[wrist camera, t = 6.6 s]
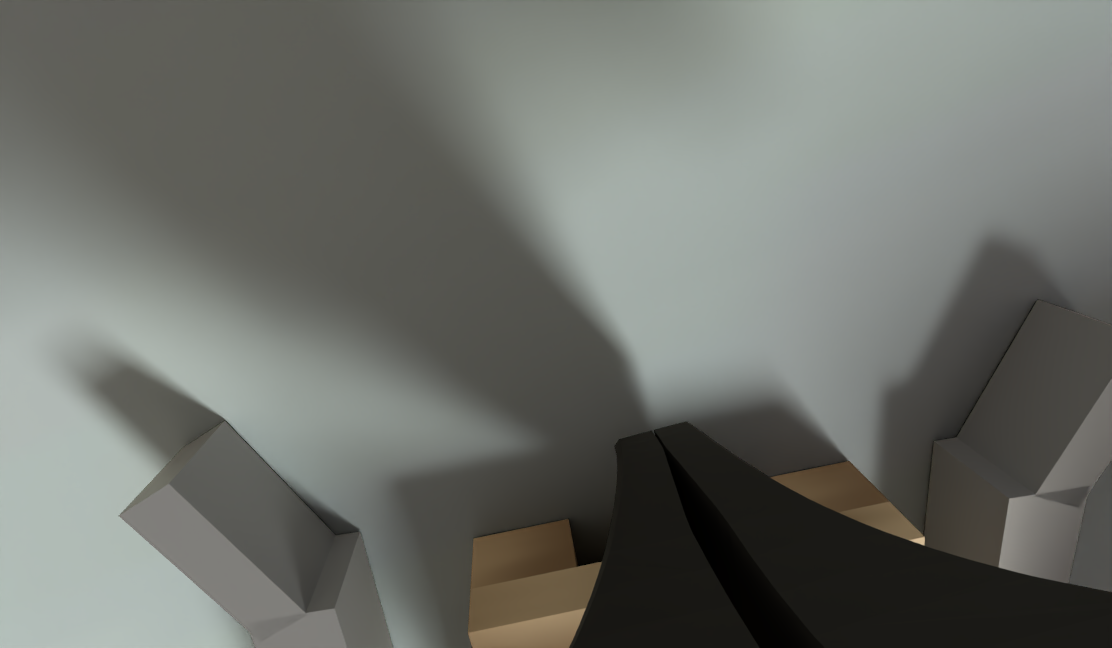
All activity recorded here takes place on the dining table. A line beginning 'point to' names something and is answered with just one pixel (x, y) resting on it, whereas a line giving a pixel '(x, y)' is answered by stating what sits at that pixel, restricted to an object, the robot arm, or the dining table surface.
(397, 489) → the dining table surface
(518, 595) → the pallet
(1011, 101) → the dining table surface
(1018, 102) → the dining table surface
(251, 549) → the dock
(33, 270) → the dining table surface
